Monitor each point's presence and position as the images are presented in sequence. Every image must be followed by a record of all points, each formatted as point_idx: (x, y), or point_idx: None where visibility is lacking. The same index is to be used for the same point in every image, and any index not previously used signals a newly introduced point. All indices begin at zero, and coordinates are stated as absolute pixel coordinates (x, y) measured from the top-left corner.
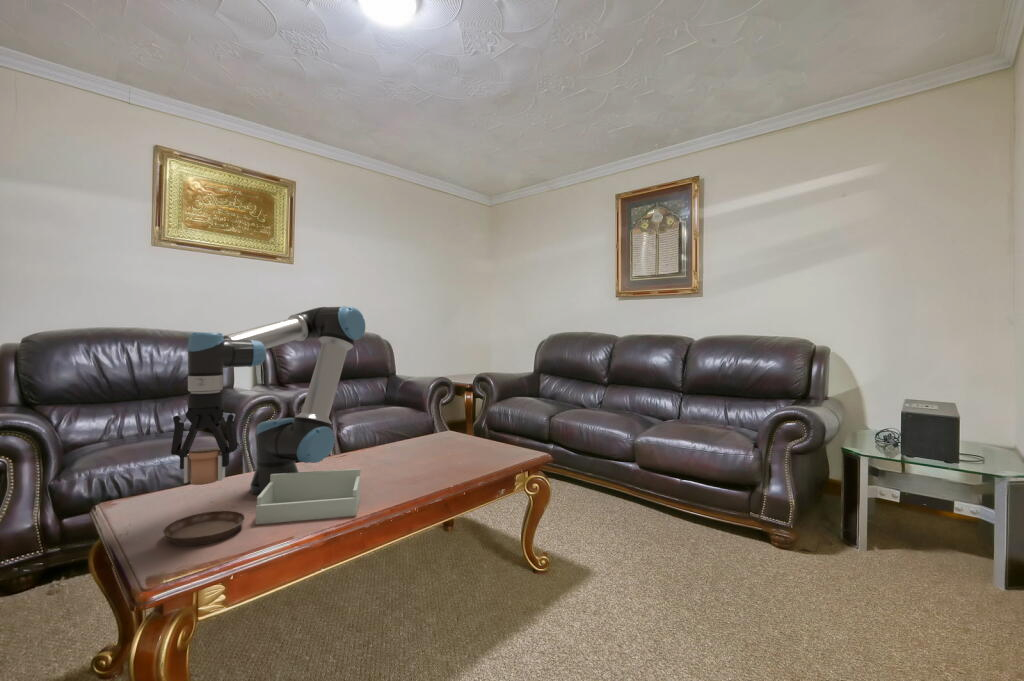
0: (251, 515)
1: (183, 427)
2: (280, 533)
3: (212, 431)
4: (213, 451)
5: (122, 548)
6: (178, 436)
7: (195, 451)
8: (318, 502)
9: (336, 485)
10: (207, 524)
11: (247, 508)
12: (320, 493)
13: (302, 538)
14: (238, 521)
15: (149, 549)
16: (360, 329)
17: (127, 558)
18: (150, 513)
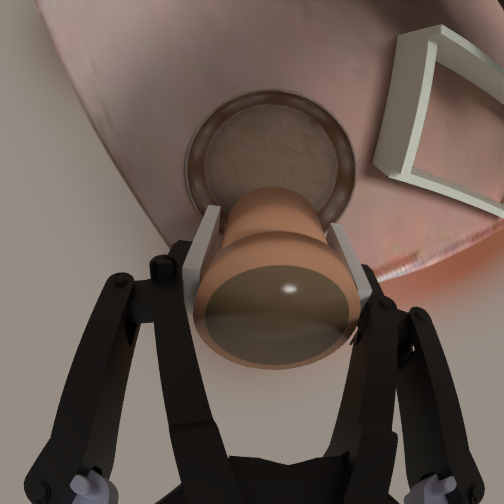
0: (360, 95)
1: (95, 426)
2: (405, 232)
3: (329, 450)
4: (322, 351)
5: (134, 192)
6: (121, 401)
7: (231, 334)
8: (485, 210)
9: None
10: (266, 121)
11: (345, 38)
12: (495, 93)
13: (425, 265)
14: (338, 145)
15: (183, 214)
16: None
17: (164, 238)
18: (112, 10)
